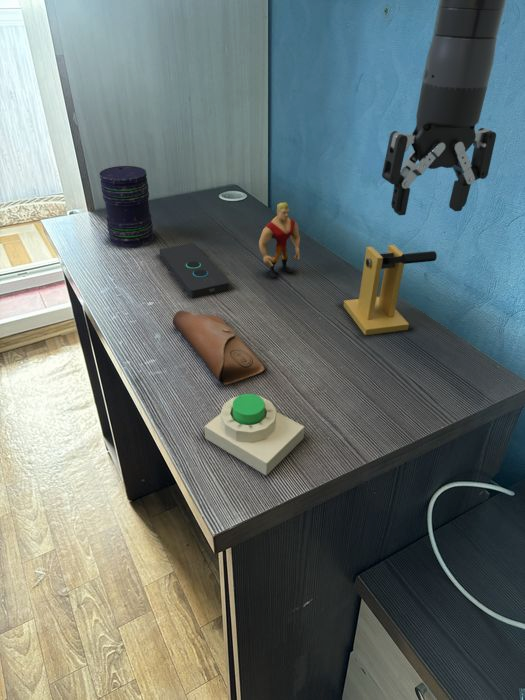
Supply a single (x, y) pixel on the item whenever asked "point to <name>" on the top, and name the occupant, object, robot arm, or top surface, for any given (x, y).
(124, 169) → the storage jar
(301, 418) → the top surface
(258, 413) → the light button
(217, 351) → the sunglasses case
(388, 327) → the lever bracket
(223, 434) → the switch box
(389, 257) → the switch lever
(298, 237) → the action figure
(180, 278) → the smart home device
